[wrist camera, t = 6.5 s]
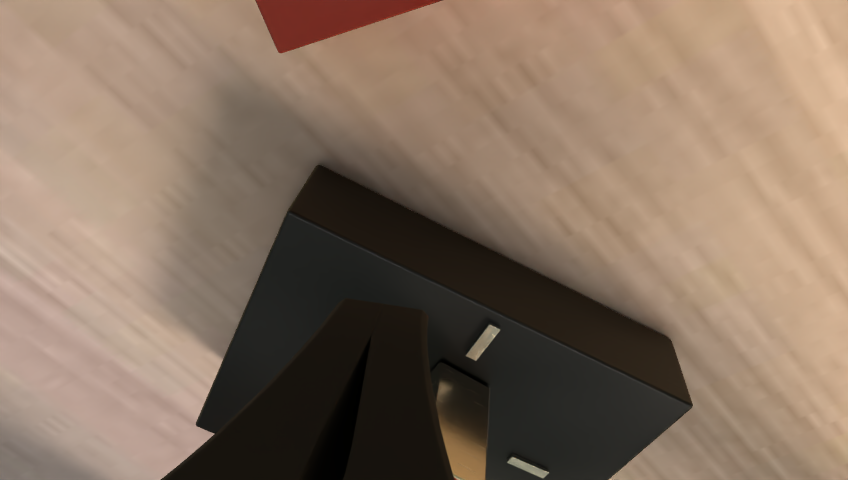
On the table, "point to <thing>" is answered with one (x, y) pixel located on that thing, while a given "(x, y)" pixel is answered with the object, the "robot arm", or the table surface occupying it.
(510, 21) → the table surface
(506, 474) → the panel
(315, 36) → the button box
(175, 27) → the table surface
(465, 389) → the timer knob
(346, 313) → the robot arm
